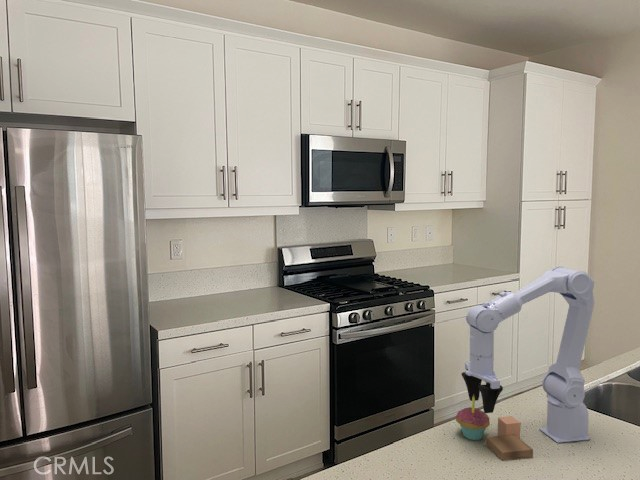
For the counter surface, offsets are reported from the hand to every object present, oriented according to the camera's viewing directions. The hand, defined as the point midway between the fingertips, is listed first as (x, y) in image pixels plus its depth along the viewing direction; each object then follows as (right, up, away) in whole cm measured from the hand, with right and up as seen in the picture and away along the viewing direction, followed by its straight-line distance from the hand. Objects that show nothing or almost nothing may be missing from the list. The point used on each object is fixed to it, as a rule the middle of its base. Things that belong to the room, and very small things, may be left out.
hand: (481, 406), depth 130 cm
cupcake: (-1, -10, +5) cm, 11 cm away
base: (+6, -10, -4) cm, 12 cm away
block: (+8, -9, +3) cm, 13 cm away
